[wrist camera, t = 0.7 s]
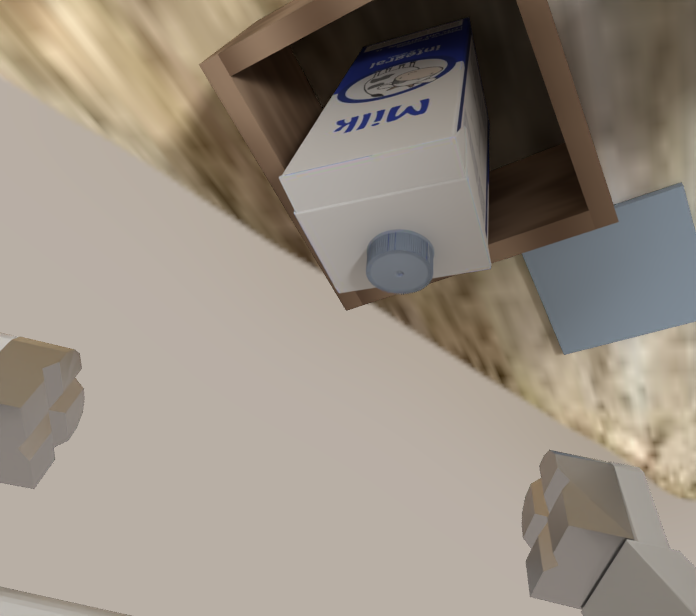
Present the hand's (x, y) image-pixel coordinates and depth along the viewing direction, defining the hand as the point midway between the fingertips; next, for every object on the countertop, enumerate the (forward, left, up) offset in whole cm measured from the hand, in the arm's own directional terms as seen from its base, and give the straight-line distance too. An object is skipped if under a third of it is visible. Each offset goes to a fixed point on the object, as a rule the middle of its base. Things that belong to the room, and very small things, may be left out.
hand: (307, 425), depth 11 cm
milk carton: (+2, +4, -35) cm, 35 cm away
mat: (-5, +22, -35) cm, 41 cm away
